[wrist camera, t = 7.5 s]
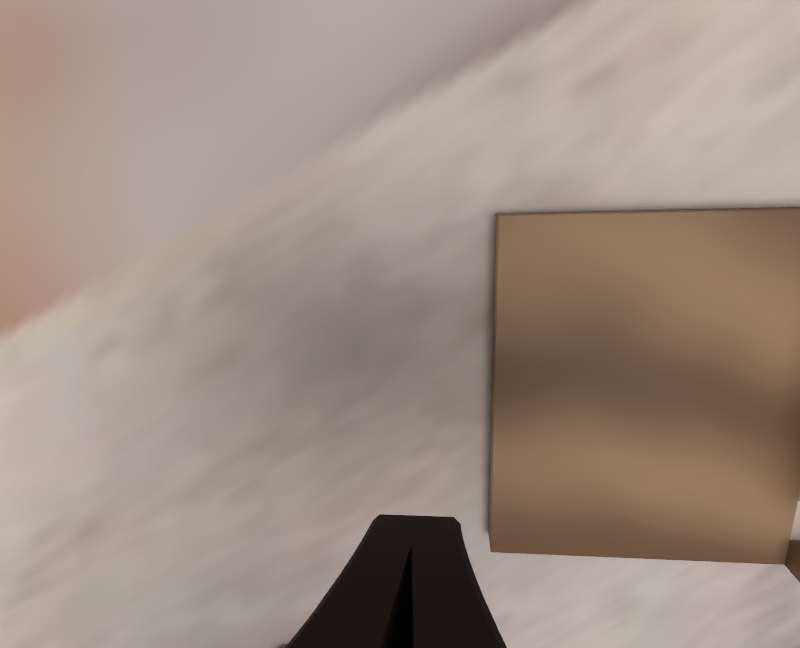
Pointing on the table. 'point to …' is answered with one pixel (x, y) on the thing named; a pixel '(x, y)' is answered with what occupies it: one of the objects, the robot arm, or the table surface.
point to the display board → (647, 385)
